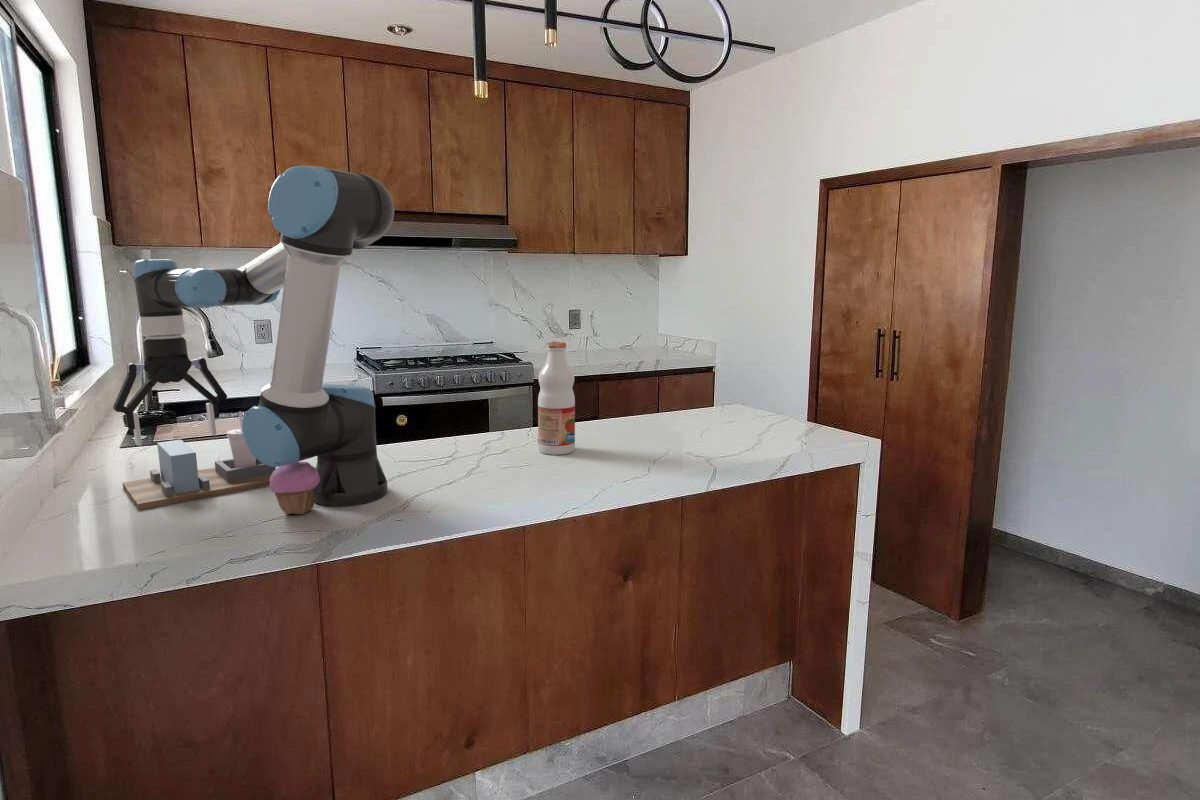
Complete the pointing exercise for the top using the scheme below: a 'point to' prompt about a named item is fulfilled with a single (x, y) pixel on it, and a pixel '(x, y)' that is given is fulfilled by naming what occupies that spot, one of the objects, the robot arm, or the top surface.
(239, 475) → the frame
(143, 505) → the jig board
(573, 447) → the fruit juice
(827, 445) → the top surface
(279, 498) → the cupcake
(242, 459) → the smoothie
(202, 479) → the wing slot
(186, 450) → the light blue rectangular block
